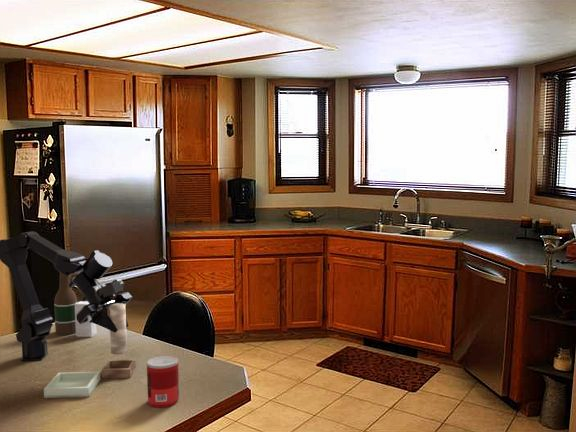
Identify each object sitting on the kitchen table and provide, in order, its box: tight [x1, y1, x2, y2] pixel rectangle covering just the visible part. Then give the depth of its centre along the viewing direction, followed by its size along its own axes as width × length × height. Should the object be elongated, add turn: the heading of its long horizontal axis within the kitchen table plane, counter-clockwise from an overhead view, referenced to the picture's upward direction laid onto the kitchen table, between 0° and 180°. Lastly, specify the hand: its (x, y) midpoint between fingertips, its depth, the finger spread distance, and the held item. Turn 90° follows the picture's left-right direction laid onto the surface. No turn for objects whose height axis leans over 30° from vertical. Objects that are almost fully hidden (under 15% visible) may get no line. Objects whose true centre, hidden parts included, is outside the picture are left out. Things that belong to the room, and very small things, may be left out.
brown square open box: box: [101, 358, 137, 379], centre depth 166 cm, size 8×8×2 cm
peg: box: [109, 303, 128, 355], centre depth 165 cm, size 4×4×14 cm
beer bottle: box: [53, 272, 78, 336], centre depth 204 cm, size 8×8×24 cm
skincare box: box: [75, 300, 98, 338], centre depth 201 cm, size 6×4×12 cm
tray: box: [43, 371, 101, 399], centre depth 155 cm, size 12×12×2 cm
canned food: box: [146, 355, 180, 408], centre depth 146 cm, size 8×8×11 cm
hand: (121, 329), depth 165 cm, fingers closed on peg, 4 cm apart
